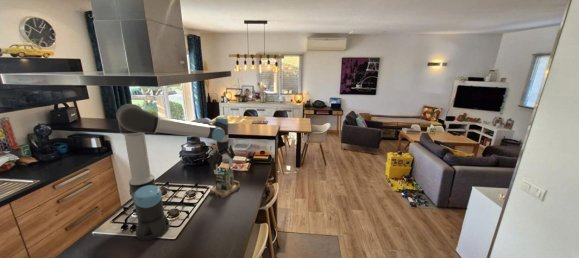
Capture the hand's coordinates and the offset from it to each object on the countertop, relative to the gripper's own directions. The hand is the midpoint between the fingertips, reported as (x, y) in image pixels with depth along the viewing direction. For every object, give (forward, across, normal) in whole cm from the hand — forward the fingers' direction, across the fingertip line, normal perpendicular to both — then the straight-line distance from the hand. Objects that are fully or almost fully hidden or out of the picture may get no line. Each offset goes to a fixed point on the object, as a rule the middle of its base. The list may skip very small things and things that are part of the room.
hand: (223, 170), depth 155 cm
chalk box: (+13, 0, 0) cm, 13 cm away
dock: (+16, +1, 0) cm, 16 cm away
